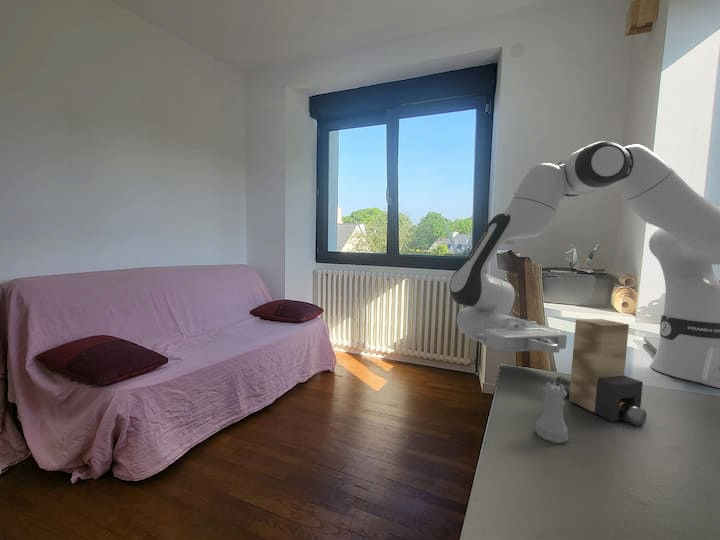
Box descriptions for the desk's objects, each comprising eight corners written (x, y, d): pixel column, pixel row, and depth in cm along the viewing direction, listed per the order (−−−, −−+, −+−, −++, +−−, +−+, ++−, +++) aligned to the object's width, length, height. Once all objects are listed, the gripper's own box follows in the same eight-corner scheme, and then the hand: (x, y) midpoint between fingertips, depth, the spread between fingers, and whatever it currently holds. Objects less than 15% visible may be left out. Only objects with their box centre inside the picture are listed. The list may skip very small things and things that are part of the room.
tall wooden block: (568, 400, 64) (575, 319, 63) (594, 397, 66) (601, 318, 66) (594, 412, 59) (602, 325, 59) (620, 408, 62) (628, 324, 61)
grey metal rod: (553, 391, 69) (555, 376, 69) (564, 389, 70) (565, 375, 70) (633, 427, 55) (635, 410, 55) (645, 425, 56) (647, 408, 56)
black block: (594, 412, 59) (597, 378, 59) (621, 408, 62) (624, 375, 61) (612, 421, 57) (615, 385, 56) (639, 416, 59) (642, 381, 59)
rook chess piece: (566, 448, 48) (571, 393, 48) (532, 436, 51) (536, 385, 50) (569, 435, 52) (574, 385, 51) (537, 425, 54) (541, 377, 54)
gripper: (472, 321, 80) (517, 336, 67) (537, 320, 87) (589, 333, 74) (470, 347, 81) (515, 366, 68) (535, 344, 88) (586, 361, 75)
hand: (554, 349), depth 71 cm, fingers closed
